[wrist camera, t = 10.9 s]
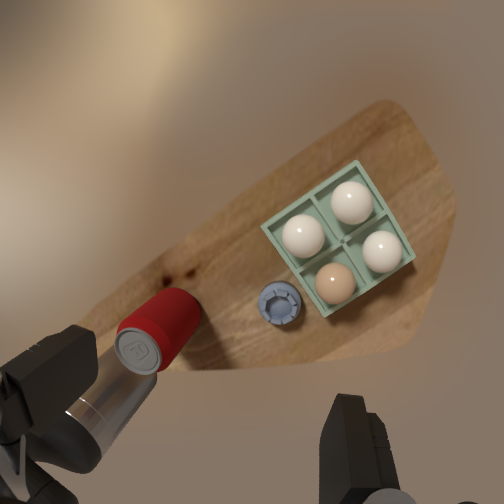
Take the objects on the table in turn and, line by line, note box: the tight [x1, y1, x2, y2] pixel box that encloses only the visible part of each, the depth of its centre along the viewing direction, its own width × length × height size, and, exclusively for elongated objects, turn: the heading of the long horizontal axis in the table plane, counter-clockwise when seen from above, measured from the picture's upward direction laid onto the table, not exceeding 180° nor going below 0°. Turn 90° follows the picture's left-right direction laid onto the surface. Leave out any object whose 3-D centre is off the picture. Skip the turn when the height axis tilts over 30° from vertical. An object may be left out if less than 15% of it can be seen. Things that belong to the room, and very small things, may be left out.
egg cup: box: [258, 281, 301, 325], centre depth 36 cm, size 5×5×3 cm
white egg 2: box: [330, 181, 373, 225], centre depth 30 cm, size 4×4×4 cm
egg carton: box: [260, 160, 416, 318], centre depth 33 cm, size 12×12×3 cm
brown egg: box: [314, 262, 356, 304], centre depth 32 cm, size 4×4×4 cm
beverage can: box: [114, 288, 201, 375], centre depth 34 cm, size 7×7×12 cm
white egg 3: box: [362, 230, 403, 273], centre depth 30 cm, size 4×4×4 cm
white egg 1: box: [282, 214, 325, 258], centre depth 31 cm, size 4×4×4 cm
